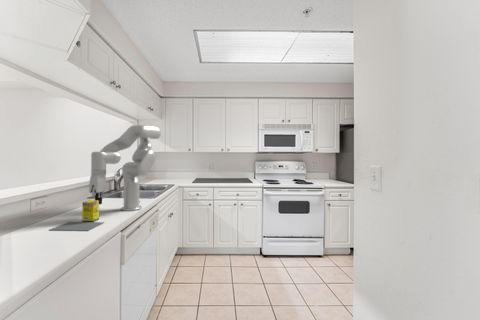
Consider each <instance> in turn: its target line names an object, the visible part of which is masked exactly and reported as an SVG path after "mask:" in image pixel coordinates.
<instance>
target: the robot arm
mask: <svg viewBox="0 0 480 320" xmlns="http://www.w3.org/2000/svg"><path fill="white" fill-rule="evenodd" d="M161 135H162V131H161V129H160V128H159V127H158V126H151V125H146V124H137V125H131V126H130V127H128V128H127V129H126V130H125V131H124V132H123V133H122V134H121V135H120V136H119V137H118V138H117V139H115V140H113V141H111V142H110V143H108V144H106V145H105V146H103V148H102V149H101V150H99V151H92V152H91V156H90V157H91V162H90V163H91V166H90V169H91V170H90V172H91V173H90V174H91V175H90V178H89V183H88V184H89V186H88V191H89V193H90V194H91V195H92V196H94V200H98V201H99V206H100V205H102V204H103V196H104V194H105V192H106V191H107V165H115V164H118V163H119V162H120V161H121V159H122V156H121V154H120V153H119V152H120V151H124V150H126V149H129V148H131V147H132V145H133V144H134V143H135V142H136V141H137V140H138V138H139V140H140V141H139V145H138V146H137V148H136V149H135V150H134V153H133V154H132V157H131V160H132V161H129V162H126V163H124V164H123V165H122V168H121V171H122V176H123V206H122V207H121V208H120V209H121V211H127V212H131V211H132V212H133V211H138V209H139V210H141V209H142V205H140V204H141V200H140V180H139V178H142V177H146V176H147V175H148V173H149V172H150V170H151V169H152V166H153V165H154V163H155V161H156V154H155V152H154V151H153V150H152V149H153V148H152V147H153V145H152V143H151V140H156V139H160V137H161ZM138 177H139V178H138Z"/></svg>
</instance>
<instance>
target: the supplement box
mask: <svg viewBox="0 0 480 320" xmlns="http://www.w3.org/2000/svg"><path fill="white" fill-rule="evenodd" d="M99 207H100V205H99V201H98V200H95V199H94V200H93V199H92V200H90V199H89V200H87V201H82V215H81V216H82V219H81V220H82V221H81V222H97V221H98V220H99V218H100V212H99V211H100V210H99V209H100V208H99Z"/></svg>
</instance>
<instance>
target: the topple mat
mask: <svg viewBox="0 0 480 320" xmlns="http://www.w3.org/2000/svg"><path fill="white" fill-rule="evenodd" d="M103 224H105V222H104V221H103V222H102V221H101V222H100V221H94V222H82V221H68V222H65V223H62V224H61V225H57V226H54V227H52V228H50V229H49V231H54V232H55V231H57V232H58V231H61V232H65V231H67V232H69V231H70V232H71V231H72V232H90V231H91V230H93V229H95V228H97V227H99V226H101V225H103Z"/></svg>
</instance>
